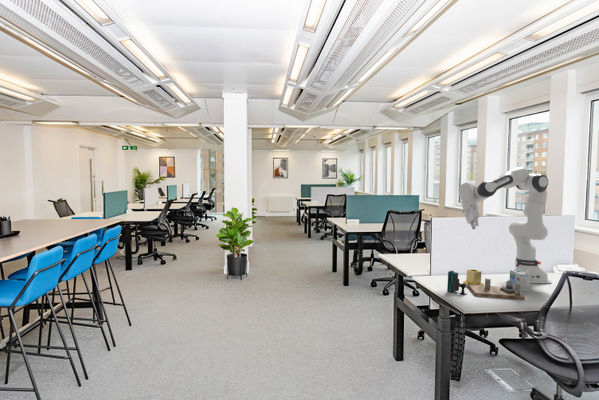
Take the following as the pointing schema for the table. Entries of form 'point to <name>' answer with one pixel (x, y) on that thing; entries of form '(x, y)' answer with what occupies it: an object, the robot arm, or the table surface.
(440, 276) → the table surface
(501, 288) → the gear
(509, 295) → the walnut board
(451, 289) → the surveillance camera
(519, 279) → the light bulb box
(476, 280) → the yellow flanged housing
